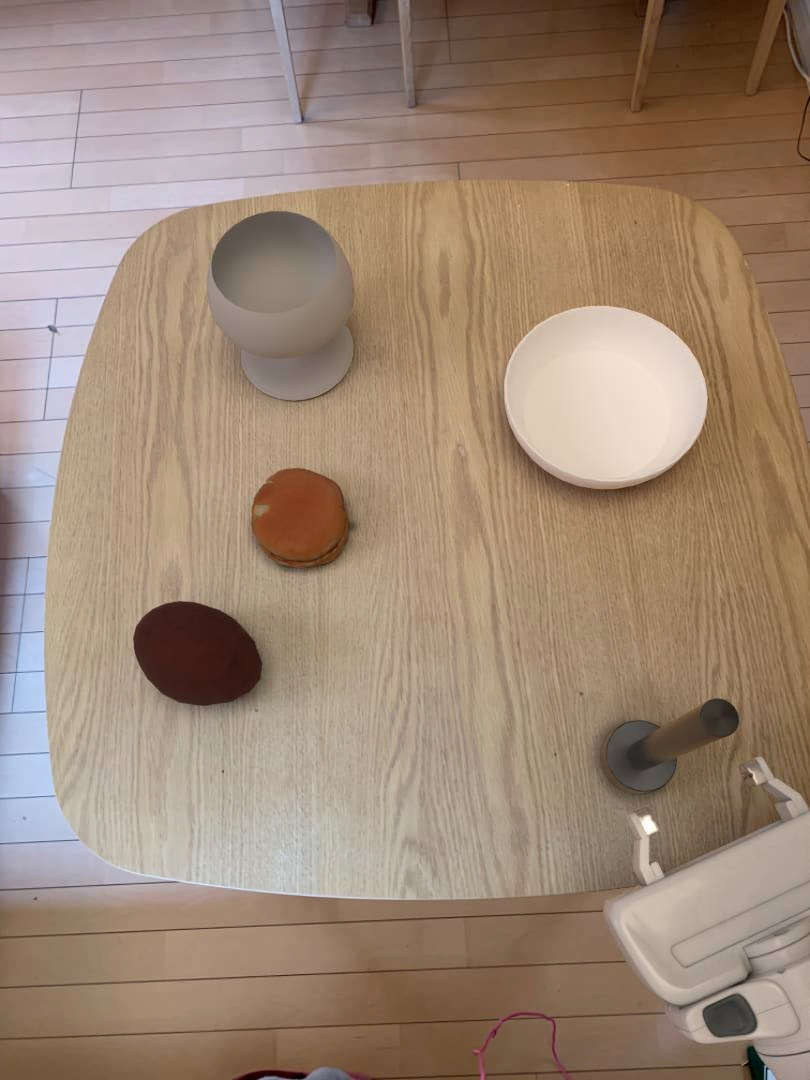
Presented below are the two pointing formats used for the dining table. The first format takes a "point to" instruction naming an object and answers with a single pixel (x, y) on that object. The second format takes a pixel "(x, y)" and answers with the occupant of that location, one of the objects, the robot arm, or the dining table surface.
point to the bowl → (604, 397)
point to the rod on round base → (662, 745)
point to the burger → (300, 518)
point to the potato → (196, 654)
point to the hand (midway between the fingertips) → (692, 785)
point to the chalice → (284, 303)
